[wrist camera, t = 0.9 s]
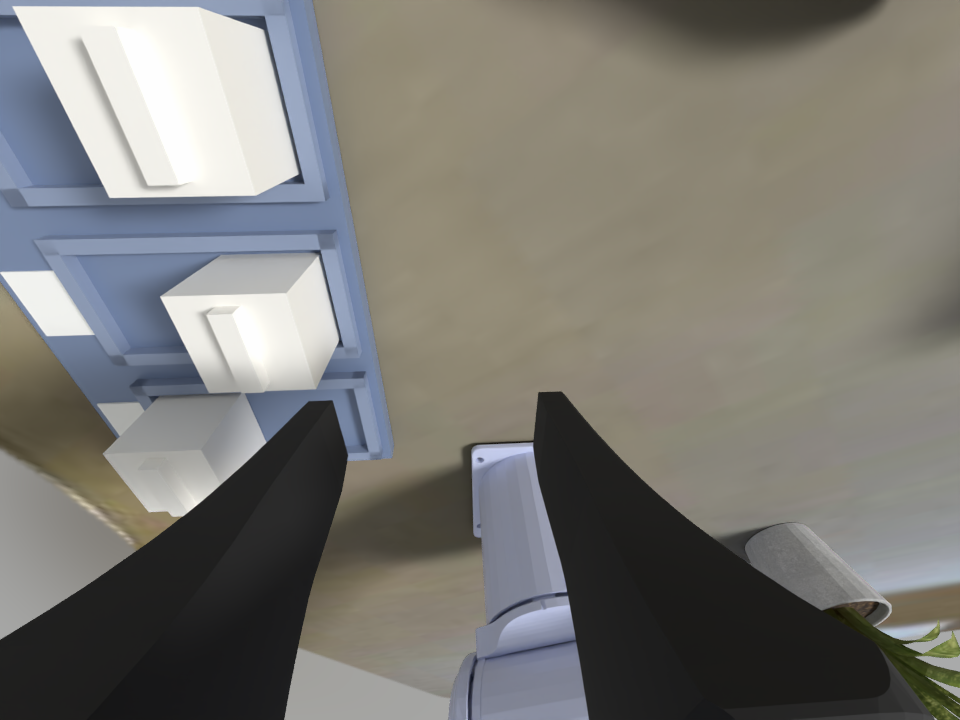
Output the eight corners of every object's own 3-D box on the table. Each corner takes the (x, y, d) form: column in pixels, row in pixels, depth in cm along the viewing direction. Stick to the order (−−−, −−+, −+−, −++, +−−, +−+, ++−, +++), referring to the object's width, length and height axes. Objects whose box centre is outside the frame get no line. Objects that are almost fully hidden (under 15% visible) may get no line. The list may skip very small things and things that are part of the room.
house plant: (734, 475, 27) (1006, 842, 14) (913, 474, 28) (1325, 814, 15) (668, 579, 35) (799, 876, 22) (809, 575, 36) (1017, 856, 23)
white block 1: (341, 335, 18) (311, 399, 14) (253, 338, 18) (200, 403, 14) (321, 252, 16) (279, 301, 12) (221, 254, 16) (147, 304, 12)
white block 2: (267, 445, 22) (228, 519, 18) (195, 449, 22) (140, 523, 18) (243, 390, 20) (193, 461, 16) (162, 393, 20) (91, 465, 16)
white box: (301, 172, 14) (246, 200, 11) (190, 174, 14) (93, 202, 10) (268, 31, 12) (182, 1, 8) (134, 31, 12) (-15, 0, 8)
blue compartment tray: (394, 445, 24) (390, 465, 23) (151, 456, 23) (132, 477, 22) (307, -27, 12) (289, -42, 11) (-189, -30, 12) (-272, -47, 10)
